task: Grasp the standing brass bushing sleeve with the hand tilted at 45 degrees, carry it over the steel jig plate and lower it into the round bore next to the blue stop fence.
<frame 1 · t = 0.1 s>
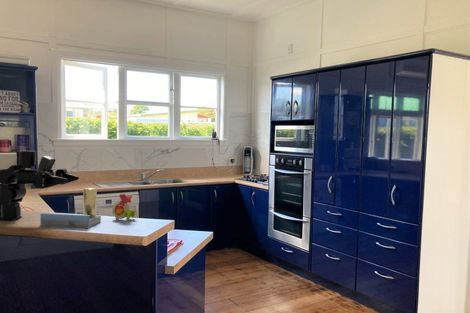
hand: (73, 179, 148), 17 cm above the counter, tool horizontal, fingers open, 9 cm apart
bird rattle: (123, 220, 155), on the counter
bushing: (89, 219, 154), on the counter
jig: (71, 223, 145), on the counter
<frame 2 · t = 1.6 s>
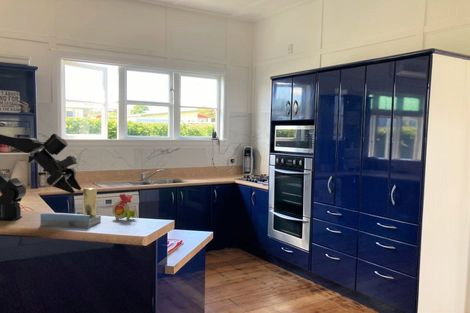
hand: (77, 191, 153), 11 cm above the counter, tool tilted 45°, fingers open, 9 cm apart
nothing on the counter moved.
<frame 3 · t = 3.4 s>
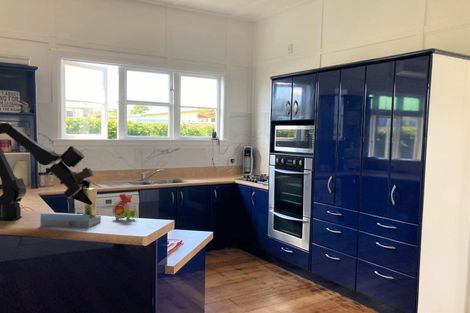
hand: (93, 203, 154), 7 cm above the counter, tool tilted 45°, fingers closed on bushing, 5 cm apart
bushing: (89, 219, 154), on the counter, touching gripper
everything else where it was.
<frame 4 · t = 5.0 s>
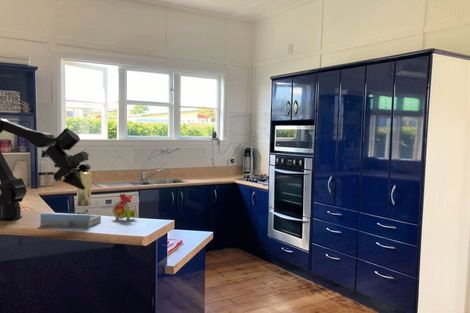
hand: (87, 188, 147), 13 cm above the counter, tool tilted 45°, fingers closed on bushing, 5 cm apart
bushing: (83, 205, 147), point 7 cm above the counter, touching gripper
everything else where it was.
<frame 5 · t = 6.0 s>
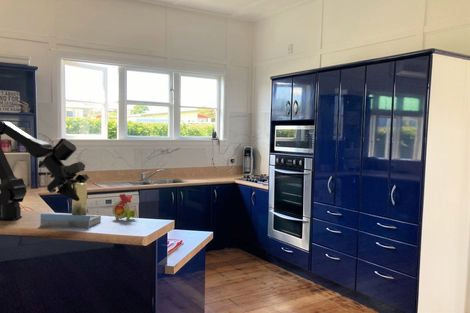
hand: (82, 199, 144), 10 cm above the counter, tool tilted 45°, fingers closed on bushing, 5 cm apart
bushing: (79, 216, 145), point 3 cm above the counter, touching gripper
everything else where it was.
when the fingers open (8 cm above the counter, at t = 6.8 s): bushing drops 1 cm, resting in jig.
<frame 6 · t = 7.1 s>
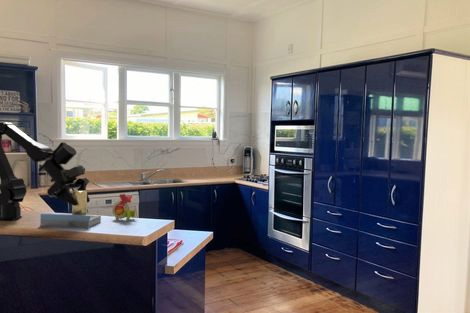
hand: (83, 203, 144), 8 cm above the counter, tool tilted 45°, fingers open, 8 cm apart
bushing: (79, 224, 145), resting in jig
everything else where it was.
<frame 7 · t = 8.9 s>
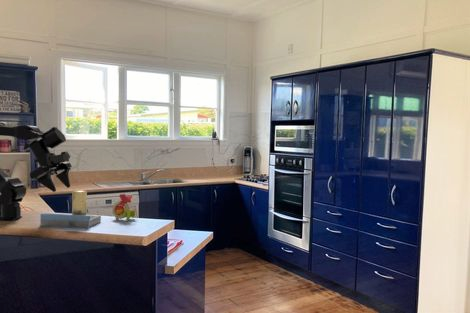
hand: (62, 189, 149), 12 cm above the counter, tool tilted 30°, fingers open, 9 cm apart
nothing on the counter moved.
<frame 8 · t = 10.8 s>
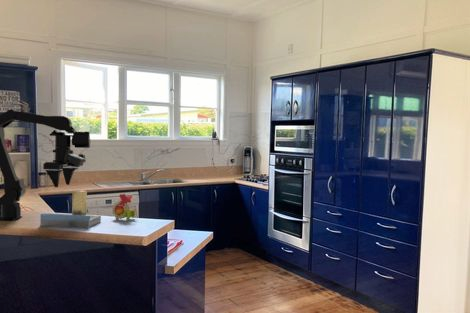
hand: (62, 185, 155), 13 cm above the counter, tool pointing down, fingers open, 9 cm apart
nothing on the counter moved.
at the end: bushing 0.1 cm from the target spot in the jig, point 0.0 cm above the jig's base; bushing tilted 0°; the gripper is holding nothing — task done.
